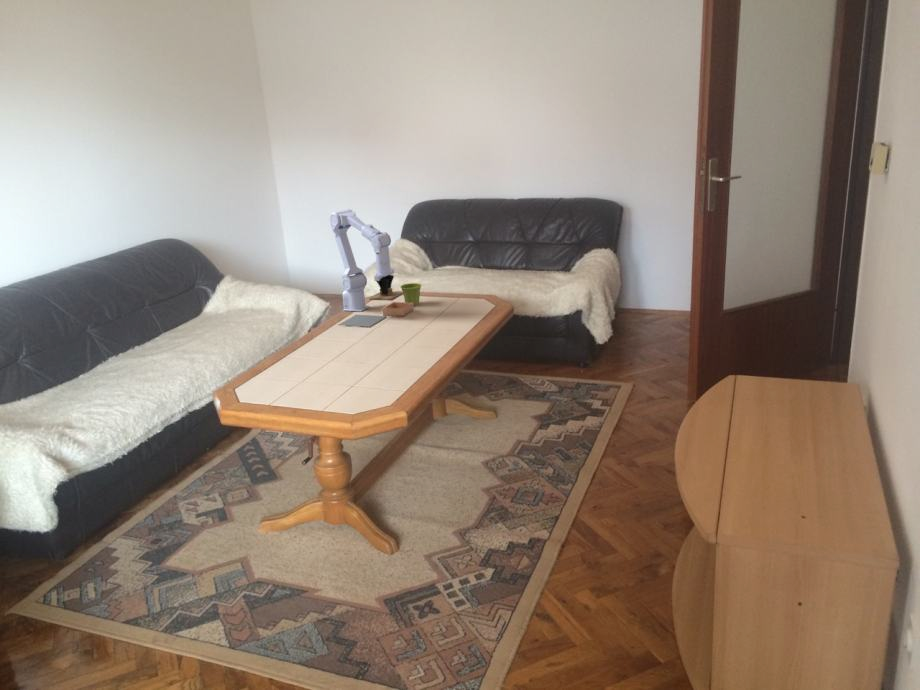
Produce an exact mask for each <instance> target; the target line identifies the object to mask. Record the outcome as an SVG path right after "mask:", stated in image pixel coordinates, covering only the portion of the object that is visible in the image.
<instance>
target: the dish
mask: <svg viewBox="0 0 920 690" xmlns="http://www.w3.org/2000/svg"><path fill="white" fill-rule="evenodd" d="M413 310H414V311H415V309H414V305H413V303H407V302H405V301H404V302H403V301H391V303H389V304H387V305H384V307H382V316H387V317H394V316H396V317H398V318H405V317H406V316H408V315H410V314H411V313H412V312H413Z"/></svg>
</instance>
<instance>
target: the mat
mask: <svg viewBox="0 0 920 690" xmlns="http://www.w3.org/2000/svg"><path fill="white" fill-rule="evenodd" d="M387 317H388V316H383V315H369V314H368V315H367V314H355V315H353V316H351V317H350V318H348V319H346V320H344V321H342V322H341V323H339V324H338V325H346V326H345V327H351V326H360V327H359V328H368V327H370V328H371V326H372V327H373V326H375V325H377V324H378V323H379V321H380V322H382V321H383V320H384V319H386V318H387ZM382 319H383V320H382ZM374 324H375V325H374Z"/></svg>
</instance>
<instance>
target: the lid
mask: <svg viewBox="0 0 920 690" xmlns="http://www.w3.org/2000/svg"><path fill="white" fill-rule="evenodd" d="M403 294H404V292H403V291H393V288H392V287H391V288H388V293H387V294H382V291H381V289H380V288H379V292H377V293H376V294H374V295H372V296H371V297H369V299H368V300H369V301H388V302H390V301H391V302H394V300H395V299H398V298H400V297H401V296H404V295H403Z"/></svg>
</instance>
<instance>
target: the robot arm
mask: <svg viewBox="0 0 920 690" xmlns="http://www.w3.org/2000/svg"><path fill="white" fill-rule="evenodd" d="M328 220H329V224H330V226H331V230H332V233H333V235H334V239H335V242H336V246H337V247H338V251H339V254H340V257H341V261H342V264H343V267H344V272H342V275H341V279H342V286H343V289H344V291H343V292H342V303H343V304H342V305H343V309H342V311H345V312H362V311H365V310H366V309H368V308H370V305H367V304H366V295H365V289H366V286H367V284H368V278H367V276H366V275H365V273H364V271H363V269H362V268H360V267H358V266H357V262H356V259H355V256H354V253H353V249H352V246H351V243H350V241H349V237H348V233H347V232H348V230H349V229H350V228H351V227H353V228H355V229H356V230H358V231H360V232H361V236H362V237H364V238H365V239H366V240H368V241H369V242H370V243H371V246H372V248H373V252H374V253H375V262H376V271H377V272H376V274H375V275H374V277H373V279H374V282H376V283H377V284H378V287H379V290H380V289H381V291H382V294H387V293H388V288H392V283H393V280H394V278H395V277H394V273H395V268H392V267H391V258H390V250H389V249H390V248H389V247H390V245H391V244H392V243H391V242H392V240H391V236H390V234H389V233H388V232H381V231H380V229H379V230H378V229H377V228H376V227H374V225H373V224H366V223H365V222H363V221H362V220H361V219H360V218H359V217H358V216H357V214H356V211H353V209H350V208H349V209H345V210H339V211H333V212H331V213H330V215H329V219H328ZM347 308H348V309H347Z"/></svg>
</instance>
